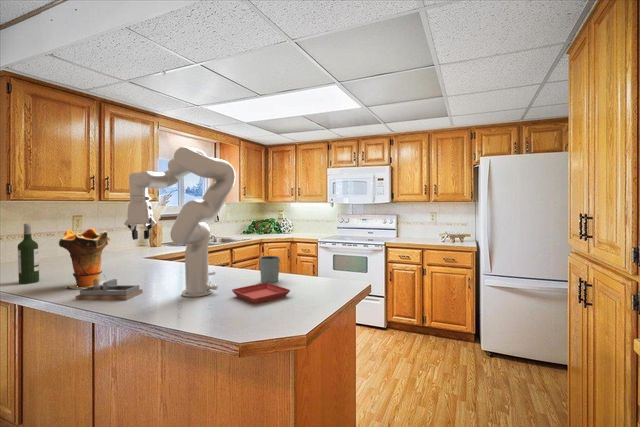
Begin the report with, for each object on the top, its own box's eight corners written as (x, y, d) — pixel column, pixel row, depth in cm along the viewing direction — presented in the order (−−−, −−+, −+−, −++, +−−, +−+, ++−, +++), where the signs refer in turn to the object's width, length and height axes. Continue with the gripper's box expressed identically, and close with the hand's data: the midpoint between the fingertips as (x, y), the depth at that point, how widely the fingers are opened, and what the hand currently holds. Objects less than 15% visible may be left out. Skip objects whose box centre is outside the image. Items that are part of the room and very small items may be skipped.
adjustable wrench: (189, 284, 165) (189, 281, 165) (178, 283, 166) (178, 280, 166) (217, 273, 189) (217, 270, 189) (207, 273, 191) (207, 270, 190)
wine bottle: (41, 281, 172) (39, 223, 171) (22, 284, 165) (19, 224, 164) (35, 279, 176) (33, 222, 175) (16, 283, 169) (14, 223, 168)
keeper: (142, 292, 148) (142, 275, 148) (126, 299, 137) (126, 281, 137) (95, 292, 149) (94, 275, 149) (75, 299, 138) (75, 281, 138)
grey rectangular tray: (139, 289, 147) (139, 278, 147) (126, 295, 138) (126, 283, 138) (95, 289, 148) (95, 278, 148) (79, 295, 139) (79, 283, 139)
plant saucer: (291, 297, 140) (291, 289, 140) (254, 306, 128) (253, 298, 127) (266, 289, 153) (266, 282, 153) (230, 297, 141) (230, 289, 141)
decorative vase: (76, 292, 148) (72, 229, 148) (52, 288, 160) (49, 230, 160) (123, 282, 166) (120, 226, 166) (99, 280, 178) (96, 227, 178)
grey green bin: (258, 279, 172) (258, 256, 171) (278, 278, 175) (277, 255, 174) (261, 284, 162) (260, 259, 162) (281, 282, 165) (281, 258, 165)
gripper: (161, 199, 158) (163, 237, 158) (125, 200, 158) (127, 238, 159) (153, 199, 150) (155, 239, 151) (116, 200, 151) (117, 240, 151)
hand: (141, 238), depth 155 cm, fingers open, 4 cm apart
